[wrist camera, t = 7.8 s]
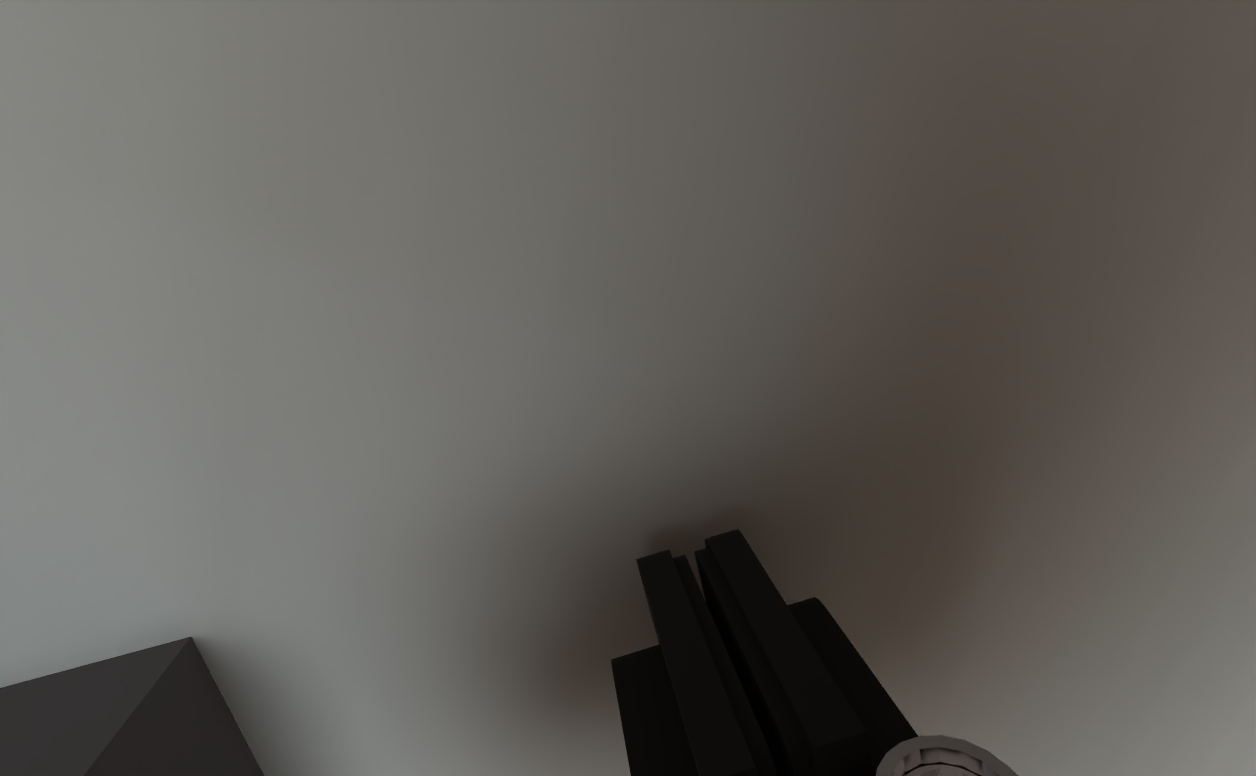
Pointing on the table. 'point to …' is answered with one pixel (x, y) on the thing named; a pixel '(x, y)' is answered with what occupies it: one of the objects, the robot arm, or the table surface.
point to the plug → (124, 720)
